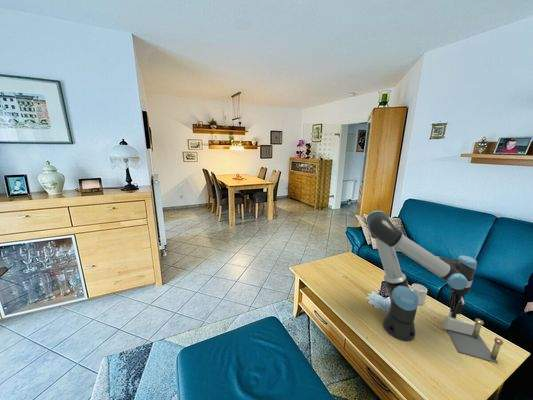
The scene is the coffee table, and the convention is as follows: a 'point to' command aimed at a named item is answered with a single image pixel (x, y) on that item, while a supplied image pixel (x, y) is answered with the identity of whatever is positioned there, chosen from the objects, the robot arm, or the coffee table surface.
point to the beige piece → (459, 325)
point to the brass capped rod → (496, 348)
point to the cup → (420, 292)
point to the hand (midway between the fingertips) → (451, 320)
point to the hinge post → (477, 328)
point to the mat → (470, 345)
